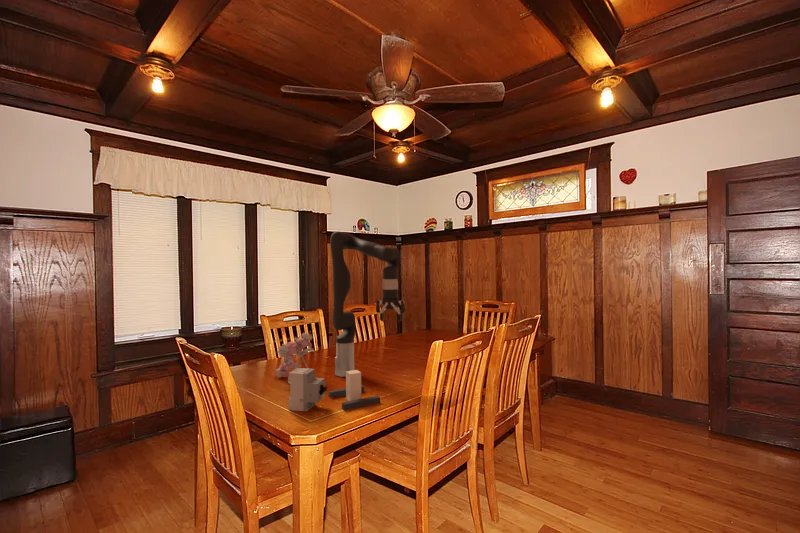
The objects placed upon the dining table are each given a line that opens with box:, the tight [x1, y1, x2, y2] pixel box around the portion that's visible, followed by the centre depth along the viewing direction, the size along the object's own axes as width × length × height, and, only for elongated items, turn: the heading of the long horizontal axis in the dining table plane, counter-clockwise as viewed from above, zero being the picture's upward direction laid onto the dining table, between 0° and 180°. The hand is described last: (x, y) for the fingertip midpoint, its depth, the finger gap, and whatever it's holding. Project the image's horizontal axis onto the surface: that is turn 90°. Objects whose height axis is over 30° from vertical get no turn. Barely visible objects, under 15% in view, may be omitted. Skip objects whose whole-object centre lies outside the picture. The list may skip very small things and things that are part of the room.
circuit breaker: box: [287, 367, 328, 412], centre depth 158 cm, size 8×14×15 cm, turn 78°
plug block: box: [345, 369, 362, 402], centre depth 166 cm, size 5×5×12 cm
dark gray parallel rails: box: [328, 384, 381, 411], centre depth 166 cm, size 16×19×2 cm
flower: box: [274, 330, 316, 378], centre depth 201 cm, size 20×22×25 cm
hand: (390, 321), depth 189 cm, fingers open, 8 cm apart
